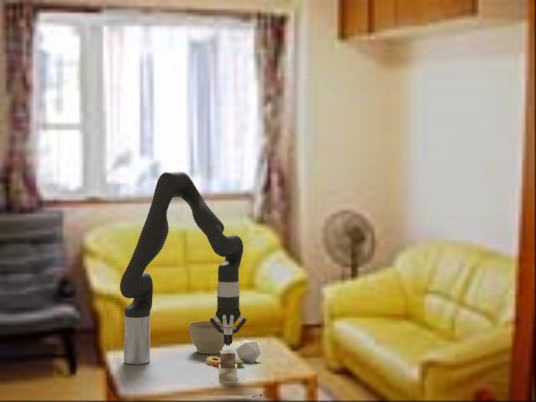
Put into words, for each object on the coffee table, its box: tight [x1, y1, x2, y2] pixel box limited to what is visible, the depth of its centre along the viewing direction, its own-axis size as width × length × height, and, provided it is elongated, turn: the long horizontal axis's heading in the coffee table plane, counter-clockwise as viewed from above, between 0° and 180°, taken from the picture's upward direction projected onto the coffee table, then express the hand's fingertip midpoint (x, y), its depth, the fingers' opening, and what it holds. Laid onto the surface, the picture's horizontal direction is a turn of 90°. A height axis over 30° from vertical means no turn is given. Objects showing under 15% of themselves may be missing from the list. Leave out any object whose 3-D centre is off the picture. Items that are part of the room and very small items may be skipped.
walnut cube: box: [219, 349, 236, 368], centre depth 289 cm, size 5×5×5 cm
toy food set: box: [205, 356, 245, 370], centre depth 308 cm, size 13×13×3 cm
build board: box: [209, 373, 247, 384], centre depth 289 cm, size 12×12×1 cm
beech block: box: [218, 364, 238, 380], centre depth 289 cm, size 6×6×4 cm
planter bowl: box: [188, 320, 230, 355], centre depth 331 cm, size 16×16×11 cm
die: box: [235, 339, 262, 364], centre depth 316 cm, size 8×9×10 cm
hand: (228, 345), depth 288 cm, fingers closed
